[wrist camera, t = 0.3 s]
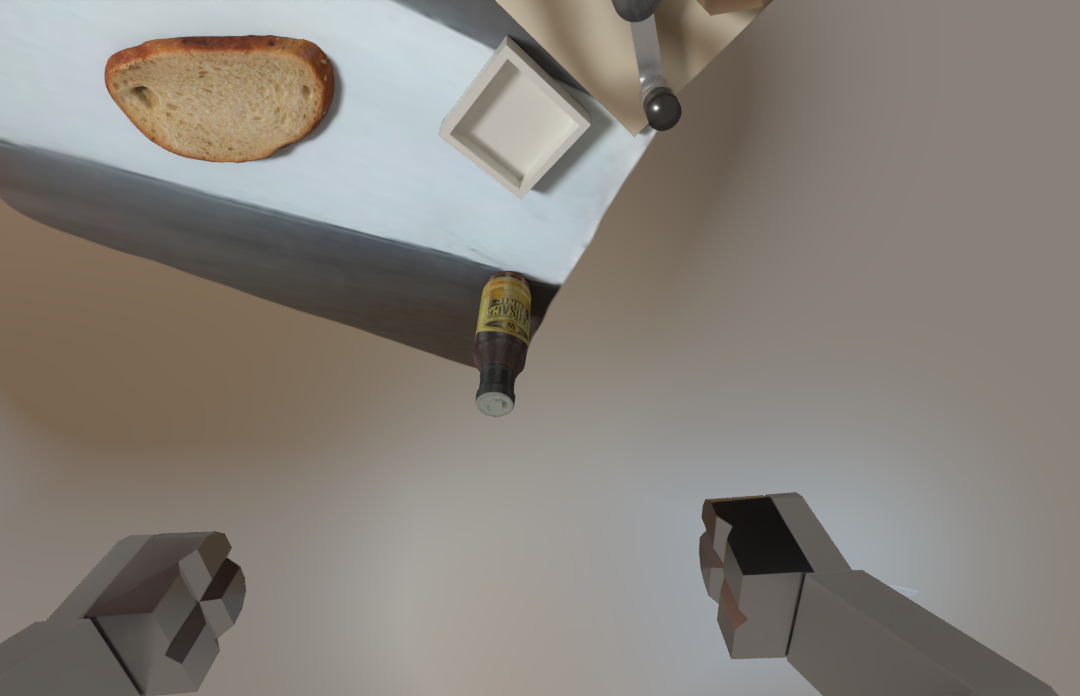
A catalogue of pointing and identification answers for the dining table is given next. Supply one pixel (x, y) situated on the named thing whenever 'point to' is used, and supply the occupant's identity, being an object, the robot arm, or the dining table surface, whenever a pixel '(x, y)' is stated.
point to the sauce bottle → (501, 341)
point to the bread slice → (222, 93)
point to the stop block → (728, 5)
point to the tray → (514, 120)
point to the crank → (649, 63)
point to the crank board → (626, 45)
